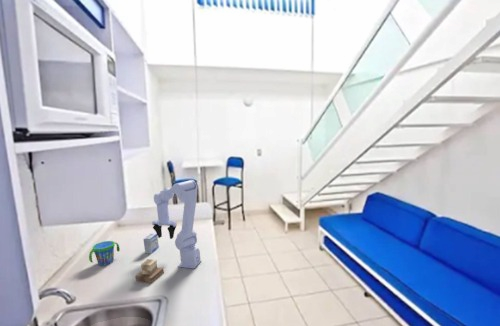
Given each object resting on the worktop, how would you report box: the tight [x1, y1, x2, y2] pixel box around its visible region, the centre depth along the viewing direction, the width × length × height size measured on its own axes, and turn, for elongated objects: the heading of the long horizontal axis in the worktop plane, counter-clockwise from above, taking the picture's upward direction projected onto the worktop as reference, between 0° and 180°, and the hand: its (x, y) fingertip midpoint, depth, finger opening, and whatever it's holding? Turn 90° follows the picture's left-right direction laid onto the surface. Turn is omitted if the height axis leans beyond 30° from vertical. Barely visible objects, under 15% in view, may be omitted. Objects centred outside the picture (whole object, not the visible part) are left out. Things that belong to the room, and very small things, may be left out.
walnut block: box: [135, 266, 165, 284], centre depth 138 cm, size 9×9×3 cm
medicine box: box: [143, 233, 160, 254], centre depth 166 cm, size 8×4×9 cm, turn 168°
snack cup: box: [88, 240, 120, 266], centre depth 154 cm, size 16×10×10 cm
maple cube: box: [140, 258, 158, 275], centre depth 137 cm, size 5×5×5 cm
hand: (165, 237), depth 160 cm, fingers open, 7 cm apart
